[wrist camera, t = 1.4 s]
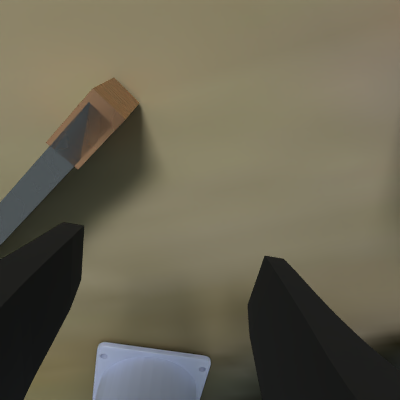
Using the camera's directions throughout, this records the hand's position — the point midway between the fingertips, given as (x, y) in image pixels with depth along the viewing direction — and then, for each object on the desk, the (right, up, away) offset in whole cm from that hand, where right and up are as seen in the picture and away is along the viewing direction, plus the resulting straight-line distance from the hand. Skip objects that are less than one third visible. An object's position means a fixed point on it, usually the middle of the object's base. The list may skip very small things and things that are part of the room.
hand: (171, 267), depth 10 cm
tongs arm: (-8, +3, +8) cm, 11 cm away
